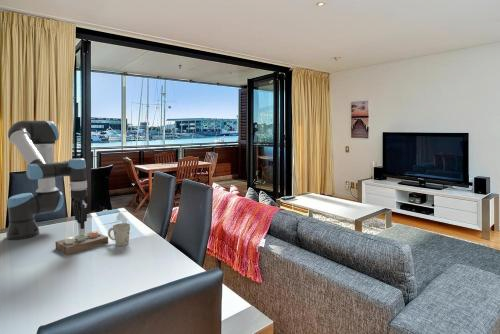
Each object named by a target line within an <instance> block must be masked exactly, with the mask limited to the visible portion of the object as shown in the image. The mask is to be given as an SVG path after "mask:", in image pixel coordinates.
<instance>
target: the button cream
mask: <svg viewBox="0 0 500 334" xmlns="http://www.w3.org/2000/svg"><path fill="white" fill-rule="evenodd" d="M75 237H76V236H68V237H65V238H64V239H65V244H66V245H69V244H72V243H75Z"/></svg>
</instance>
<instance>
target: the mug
mask: <svg viewBox="0 0 500 334" xmlns="http://www.w3.org/2000/svg"><path fill="white" fill-rule="evenodd" d="M130 230H131V224H130V223H128V222H125V223H124V222H121V223H120V222H119V223H116V224H114V225H112V227H110V228H109V229H108V231H107V237H108V239H111V240H112V241H115V245H116V247H124V246H127V245H128V244H129V242H130V241H129V239H130ZM111 232H113V236H114V237H112V236H111Z"/></svg>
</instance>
